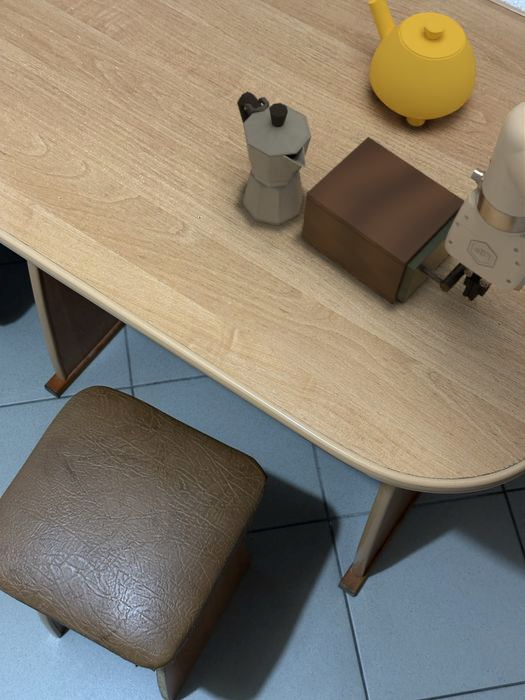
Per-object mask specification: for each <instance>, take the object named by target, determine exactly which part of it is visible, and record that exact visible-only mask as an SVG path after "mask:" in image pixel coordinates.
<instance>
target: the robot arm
mask: <svg viewBox="0 0 525 700" xmlns="http://www.w3.org/2000/svg"><path fill="white" fill-rule="evenodd" d="M470 179H472V180H473V181H474V182H475V184H476V185H477V186H476V188H474V189H473V190H471V192H470V193H469V194H468V196H467V197H466V198H465V199H464V203H463V205H462V206H461V208H460V210H459V212H458V214H457V216H456V218H455V219H454V221H453V224H452V226H451V228H450V230H449V232H448V234H447V237H446V240H445V249H446V251H447V252H448V253H449V255H450V256H451V257H452V258H453V259H454V260H456V261H457V262H458V263H461V264H463V265H464V273H465V277H464V281H463V283H462V285H463V286H464V289H463V292H462V295H461V296H462V297H464V298H467V299H468V301H470V302H473V301H474V300H475V299H476V298H477V297H478V296H479V297H481V298H483V297H484V296H485V295H486V294H487V292H488V291H489V289H490V287H491V285H492V286H493V287H496V288H497V289H499V290H502V291H505V292H512V291H516V292H520V291H521V290H522V289H523V288H524V286H525V100H524V101H522V102H520V103H518V104H517V105H515V106H514V107H513V108H512V109H511V110H510V111H509V112H508V114H507V115H506V117H505V118H504V121H503V123H502V126H501V129H500V132H499V135H498V136H497V140H496V142H495V146H494V148H493V151H492V154H491V156H490V159H489V161H488V164H487V167H486V169H481V168H479V167H476V168H475V169H474V170H473V172H472V173H471V176H470Z"/></svg>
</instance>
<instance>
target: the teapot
mask: <svg viewBox="0 0 525 700" xmlns="http://www.w3.org/2000/svg"><path fill="white" fill-rule="evenodd" d="M367 5H368V7H369V10H370V13H371V15H372V18H373V22H374V24H375V27H376V30H377V33H378V36H379V38H380V41H381V42H380V43H379V44H378V46H377V48H376V49H375V52H374V54H373V56H372V58H371V61H370V65H369V69H368V70H369V71H368V74H369V75H368V76H369V81H370V82H369V83H370V85H371V87H372V90H373V92H374V93H375V95H376V96H377V98H378V99H379V100H380V101H381V103H383V104H384V105H385V106H387V107H388V108H389V109H390V110H391V111H393V112H395V113H397V114H399V115H400V116H403V117H406V122H407V123H408V124H409V125H410V126H413V127H420V126H422V125H424V124H425V122H426V120H432V119H438V118H443V117H445V116H447V115H451V114H453V113H454V112H456V111H458V110H459V109H460V108H461V107H463V106H464V105H465V104H466V103H467V102H468V100H469V99H470V98H471V96H472V94H473V92H474V89H475V84H476V78H477V63H476V57H475V52H474V50H473V49H474V48H473V47H472V45H471V42H470V40H469V38H468V36H467V33H466V32H465V30H464V29H463V28H462V26H461V25H460V23H458V22H457V21H456V20H454V19H452V18H451V17H449V16H447V15H445V14H442V13H439V12H431V11H430V12H429V11H427V12H419V13H416V14H413V15H410V16H409V17H407V18H406V19H404V20H402V21H401V22H399V24H395V22H394V19H393V17H392V14H391V11H390V8H389V5H388V3H387V0H369V1H368V2H367Z"/></svg>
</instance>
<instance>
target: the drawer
mask: <svg viewBox="0 0 525 700" xmlns="http://www.w3.org/2000/svg"><path fill="white" fill-rule="evenodd" d="M458 212H459V211H458ZM458 212H457V213H456V214H455V216H454V217H453V218H452V219H451V220H450V221H449V222H448V223H447V224H446V225H445V226H444V227H443V228H442V229H441V230H440V231H438V233H437V234H436V235H435V236H434V237H433V238H432V239H431V240H430V241H429V242H428V243H427V244H426V245H425V246H424V247H423V248H422V249H421V250H420V251H419V252H418V253H417V254H416V255H415V256H414V257H413V258H412V259H411V260H410V261H409V263H408V264H407V266H406V269H405V272H404V275H403V279H402V282H401V285H400V288H399V291H398V294H397V297H396V298H397V299H398V300H399V301H400V302H401V303H405V302H406V300H407V299H408V298H410V296H412V294H413V293H414V292H415V291H416V290H417V289H418V288H419V287H420V286H421V284H423V283H424V282H425V280H426V279H428V278H429V279H431V280H432V281H434V282H435V283H437V284H438V287H439V288H440V290H441V291H442V292H444V293H449V292H450V291H451V290H452V289H453V288H454V287H455V286H456V284H457V283H458V282H459V281H460V280H461V279H462V278H463V277H464V276H466V274H465V273H464V265H463V264H461V263H460V262H458V263H457V264H456V266H455V267H454V268H453V269H452V270H451V271H450V272H449V273H448V274H447V275H446V276H445V277H444V278H442V277H440V275H437V274H436V273H435V272H434V271H435V270H436V269H437V268H438V267H439V266H440V264H442V262H444V260H445V259H446V258H447V257H448V256H449V255H450V254H449V253H448V252H447V251H446V249H445V240H446V237H447V234H448V232H449V230H450V228H451V226H452V224H453V221H454V219H455V218H456V216H457V214H458Z"/></svg>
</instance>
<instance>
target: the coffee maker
mask: <svg viewBox="0 0 525 700" xmlns="http://www.w3.org/2000/svg"><path fill="white" fill-rule="evenodd" d="M236 105H237V108H238V112H239V115H240V118H241V121H242V126H243V133H244V137H245V144H246V149H247V156H248V160H249V162H250V172H249V175H248V179H247V184H246V187H245V191H244V195H243V199H242V204H241V205H242V206H243V208H244V209H245V210H246V211H247V213H248V214H249V216H250V217H251V219H252V220H253V221H254V222H258V223H262V224H263V223H264V224H268V225H273V226H277V227H278V226H281V225H283V224H284V223H286V222H289V221H290V220H292V219H294V218H296V217H298V216H299V214H300V212H301V211H300V210H301V205H302V202H303V198H304V195H303V186H302V180H301V172H300V170H301V169H302V168H306V167H307V163H306V155H307V152H308V148H309V146H310V142H311V139H312V133H311V129H310V124H309V122H308V118H307V115H305V114H304V113H301V112H299V110H297V109H294V108H292V107H291V106H288V105H287V104H285V103H282V102H276V103H273V104H271V105H270V102H269V100H268V99H267V98H266V97H265V96H261V97H258V98H257V96H256V95H255V94H253V93H252V92H250V91H246V92H244V93H242V94H241V95H240V96H239V98H238V99H237V102H236Z"/></svg>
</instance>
